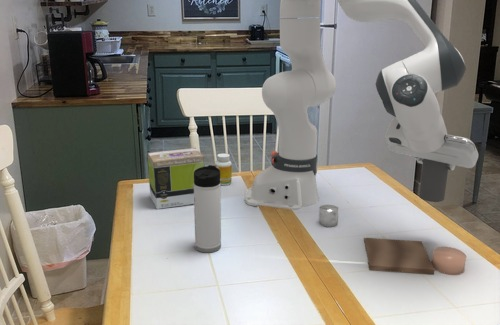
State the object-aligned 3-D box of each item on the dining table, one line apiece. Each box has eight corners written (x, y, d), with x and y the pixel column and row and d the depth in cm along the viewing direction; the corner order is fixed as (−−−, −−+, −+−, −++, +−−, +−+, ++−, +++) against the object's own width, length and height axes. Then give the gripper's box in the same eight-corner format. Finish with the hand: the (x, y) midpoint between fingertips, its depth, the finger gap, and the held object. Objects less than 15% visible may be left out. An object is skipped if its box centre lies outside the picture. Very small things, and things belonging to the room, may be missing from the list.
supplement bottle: (211, 183, 167) (211, 155, 164) (223, 179, 171) (223, 151, 168) (223, 187, 164) (223, 158, 161) (235, 183, 168) (235, 155, 165)
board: (369, 270, 115) (369, 265, 114) (363, 241, 128) (364, 237, 128) (433, 274, 113) (434, 269, 113) (421, 245, 126) (421, 241, 126)
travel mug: (225, 243, 127) (225, 166, 120) (215, 254, 121) (214, 175, 114) (202, 239, 128) (200, 163, 122) (190, 250, 123) (188, 171, 116)
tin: (320, 229, 134) (321, 211, 133) (317, 222, 139) (317, 205, 138) (339, 228, 135) (340, 211, 133) (335, 221, 139) (336, 204, 138)
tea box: (197, 192, 160) (196, 146, 155) (206, 203, 151) (205, 155, 146) (149, 197, 155) (147, 151, 150) (155, 210, 146) (153, 160, 141)
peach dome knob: (435, 274, 114) (437, 260, 112) (428, 259, 120) (430, 245, 119) (468, 276, 113) (470, 262, 112) (459, 261, 119) (461, 247, 118)
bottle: (445, 203, 122) (454, 142, 117) (420, 201, 123) (427, 141, 118) (442, 194, 127) (449, 136, 123) (417, 192, 128) (424, 134, 124)
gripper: (478, 128, 107) (485, 162, 117) (388, 114, 120) (402, 145, 130) (468, 153, 106) (476, 185, 116) (377, 136, 118) (392, 166, 128)
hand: (436, 164), depth 123 cm, fingers closed on bottle, 6 cm apart
